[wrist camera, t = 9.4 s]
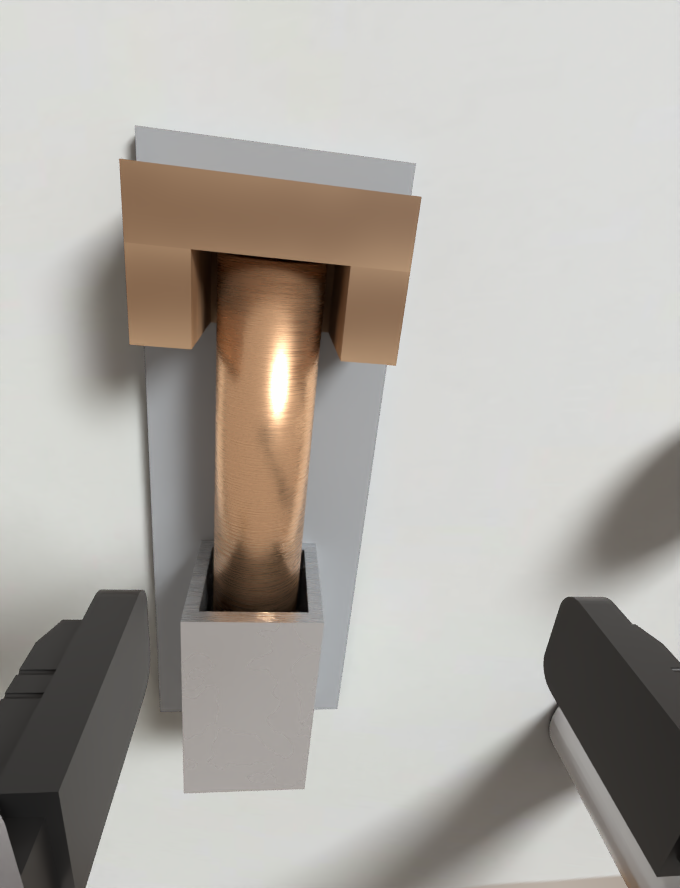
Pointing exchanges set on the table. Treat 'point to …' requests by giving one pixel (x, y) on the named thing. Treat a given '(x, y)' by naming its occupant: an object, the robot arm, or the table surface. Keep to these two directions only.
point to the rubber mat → (194, 409)
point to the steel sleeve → (248, 685)
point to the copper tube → (263, 426)
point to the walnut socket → (263, 251)
